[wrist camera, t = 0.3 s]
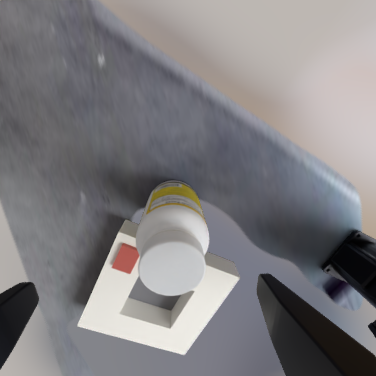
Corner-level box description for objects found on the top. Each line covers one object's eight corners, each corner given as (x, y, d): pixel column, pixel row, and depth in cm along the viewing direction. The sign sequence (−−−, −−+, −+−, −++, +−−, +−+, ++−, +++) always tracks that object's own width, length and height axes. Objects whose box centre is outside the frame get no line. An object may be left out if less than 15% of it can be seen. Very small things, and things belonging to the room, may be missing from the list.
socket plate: (233, 262, 23) (241, 280, 20) (183, 334, 27) (184, 358, 24) (125, 219, 20) (117, 234, 18) (87, 306, 24) (75, 329, 21)
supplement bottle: (179, 233, 21) (180, 317, 12) (139, 208, 20) (105, 279, 11) (209, 198, 20) (236, 261, 11) (168, 168, 19) (159, 211, 9)
